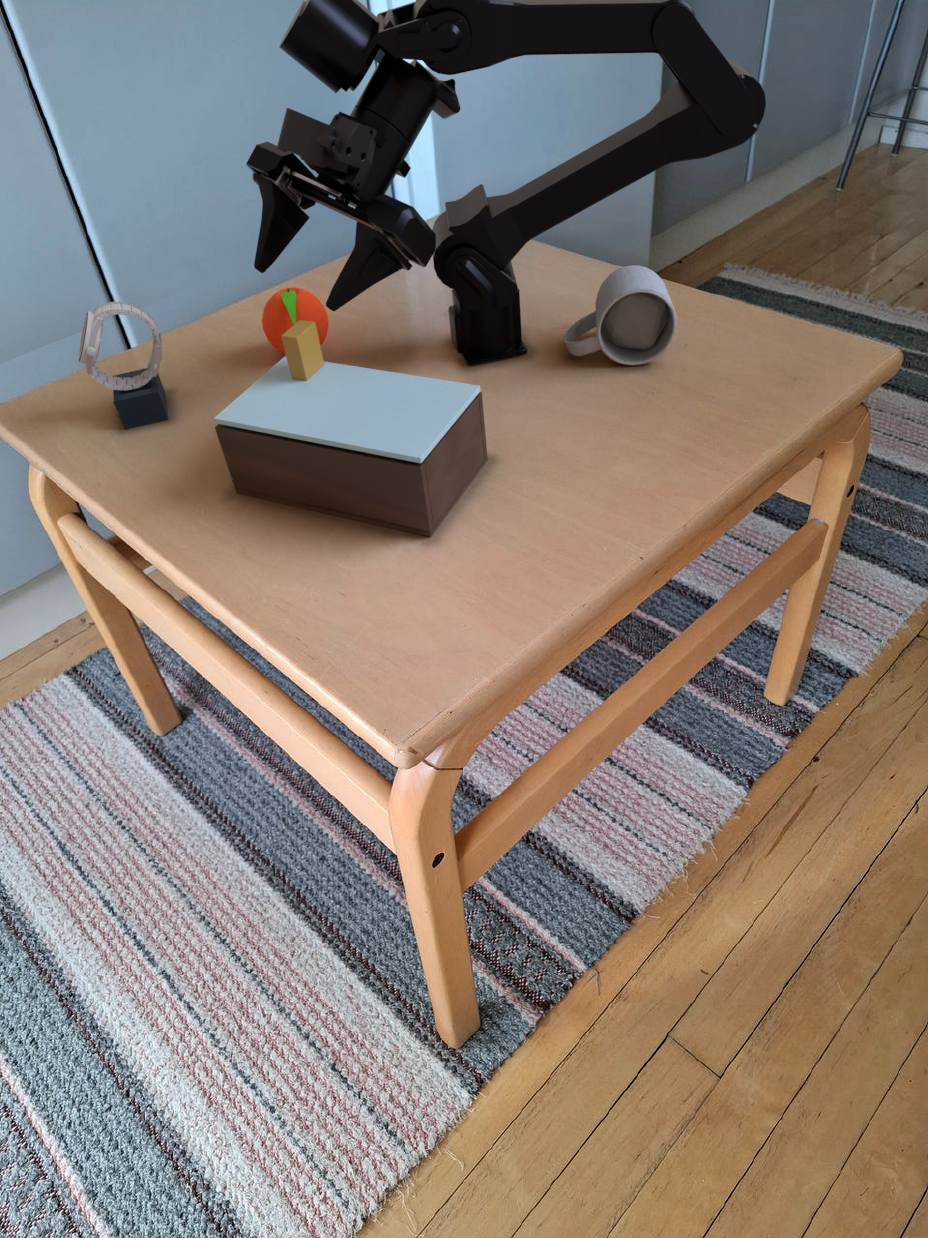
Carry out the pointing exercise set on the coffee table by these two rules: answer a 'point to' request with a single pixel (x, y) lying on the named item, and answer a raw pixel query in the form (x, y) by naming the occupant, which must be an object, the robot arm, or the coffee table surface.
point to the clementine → (292, 314)
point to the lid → (348, 403)
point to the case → (360, 474)
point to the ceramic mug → (627, 318)
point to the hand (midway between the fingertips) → (293, 289)
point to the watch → (132, 391)
